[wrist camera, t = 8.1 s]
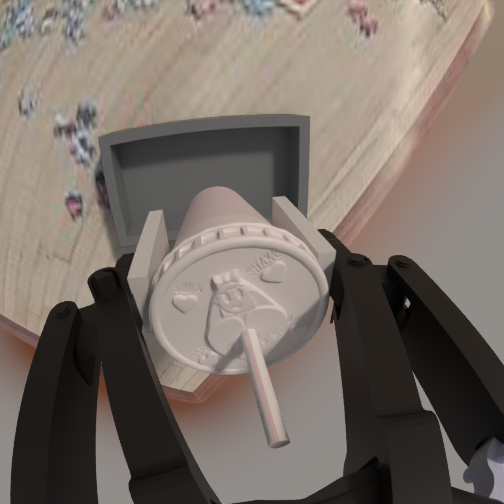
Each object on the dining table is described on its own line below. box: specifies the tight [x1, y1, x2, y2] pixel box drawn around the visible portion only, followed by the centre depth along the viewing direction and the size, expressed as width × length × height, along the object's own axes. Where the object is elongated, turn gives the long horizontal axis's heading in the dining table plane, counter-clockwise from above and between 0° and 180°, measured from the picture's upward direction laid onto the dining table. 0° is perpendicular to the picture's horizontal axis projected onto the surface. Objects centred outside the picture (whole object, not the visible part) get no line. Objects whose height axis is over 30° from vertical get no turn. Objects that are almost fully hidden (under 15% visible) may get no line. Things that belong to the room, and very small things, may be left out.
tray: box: [98, 114, 310, 247], centre depth 26 cm, size 11×19×4 cm, turn 92°
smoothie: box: [149, 186, 329, 448], centre depth 11 cm, size 6×6×14 cm
